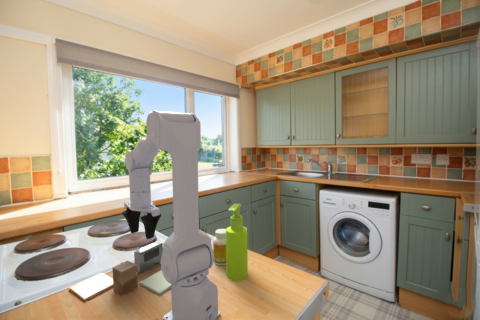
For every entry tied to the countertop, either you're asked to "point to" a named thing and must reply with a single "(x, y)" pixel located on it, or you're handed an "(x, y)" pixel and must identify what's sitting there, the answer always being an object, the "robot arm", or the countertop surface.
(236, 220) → the soap dispenser
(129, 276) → the walnut block
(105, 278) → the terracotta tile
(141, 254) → the grey unit
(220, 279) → the countertop surface
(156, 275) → the sage tile
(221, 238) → the supplement bottle
